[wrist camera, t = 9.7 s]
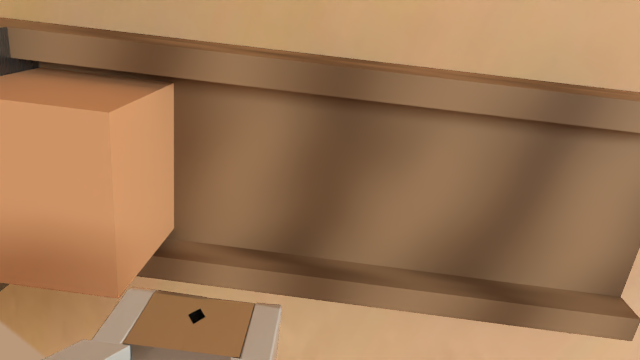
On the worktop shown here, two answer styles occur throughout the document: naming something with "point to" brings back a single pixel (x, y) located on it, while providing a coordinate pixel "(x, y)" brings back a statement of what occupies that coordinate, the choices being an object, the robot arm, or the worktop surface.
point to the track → (385, 180)
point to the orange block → (83, 178)
